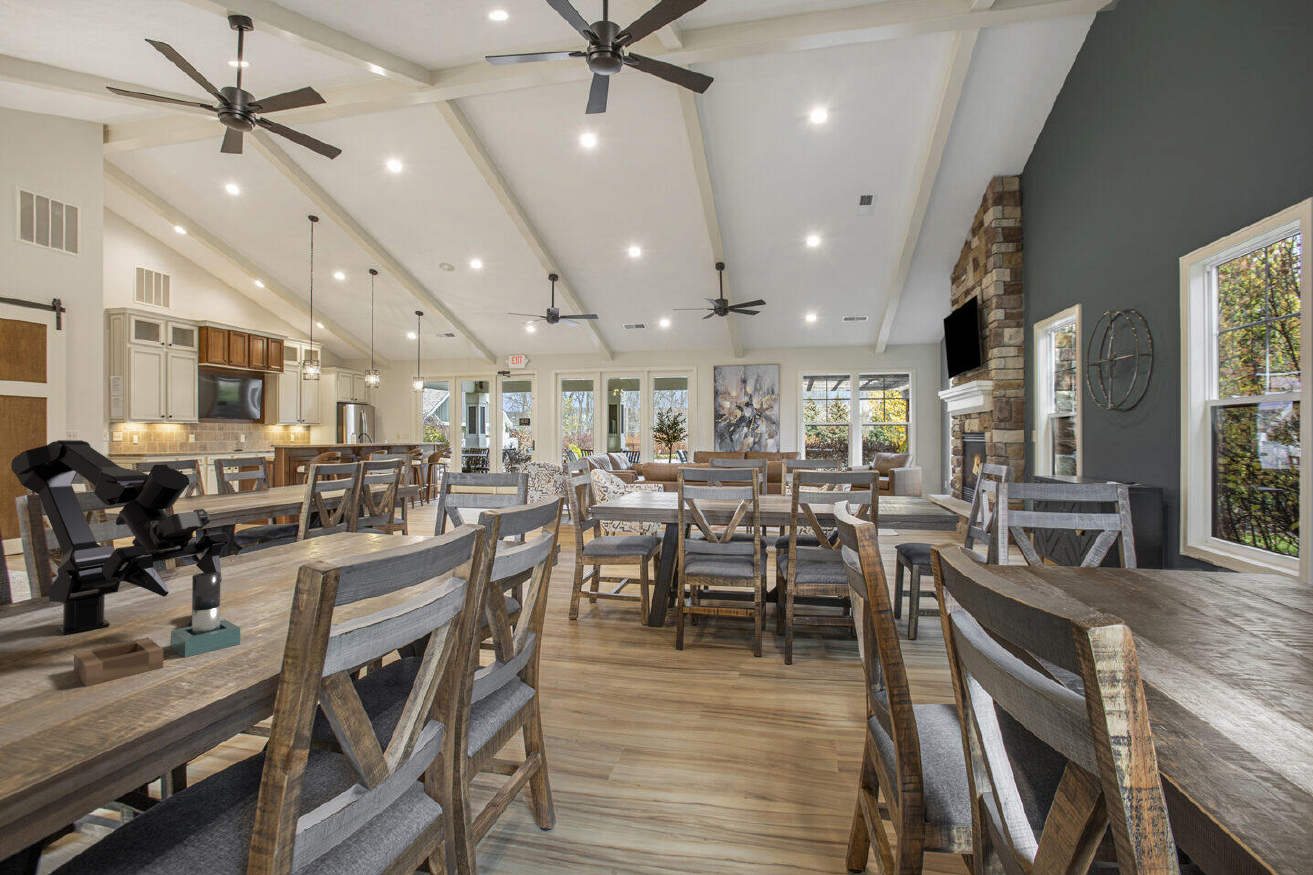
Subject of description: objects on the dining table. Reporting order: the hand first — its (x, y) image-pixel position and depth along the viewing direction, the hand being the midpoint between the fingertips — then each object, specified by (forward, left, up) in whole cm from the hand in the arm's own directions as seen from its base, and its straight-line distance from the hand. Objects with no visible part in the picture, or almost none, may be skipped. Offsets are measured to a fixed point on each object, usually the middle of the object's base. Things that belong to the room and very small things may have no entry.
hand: (194, 588), depth 103 cm
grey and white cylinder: (+3, +1, -10) cm, 11 cm away
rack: (+5, -11, -10) cm, 16 cm away
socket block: (+3, +1, -10) cm, 11 cm away
